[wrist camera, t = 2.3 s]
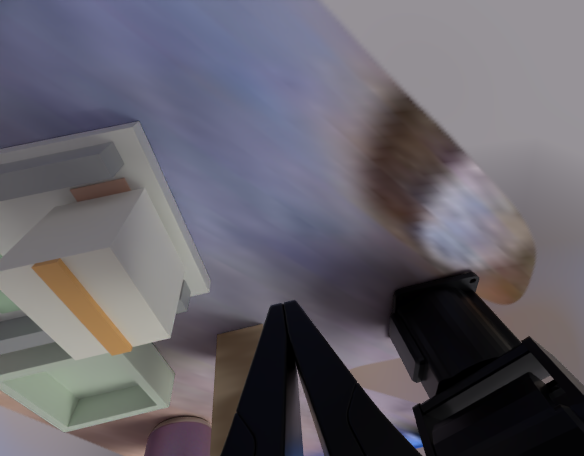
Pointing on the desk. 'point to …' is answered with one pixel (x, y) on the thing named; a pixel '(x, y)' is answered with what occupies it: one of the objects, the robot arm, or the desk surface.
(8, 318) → the panel
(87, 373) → the holder
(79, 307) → the breaker
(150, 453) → the beverage can
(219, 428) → the tan rectangular block
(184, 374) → the desk surface
